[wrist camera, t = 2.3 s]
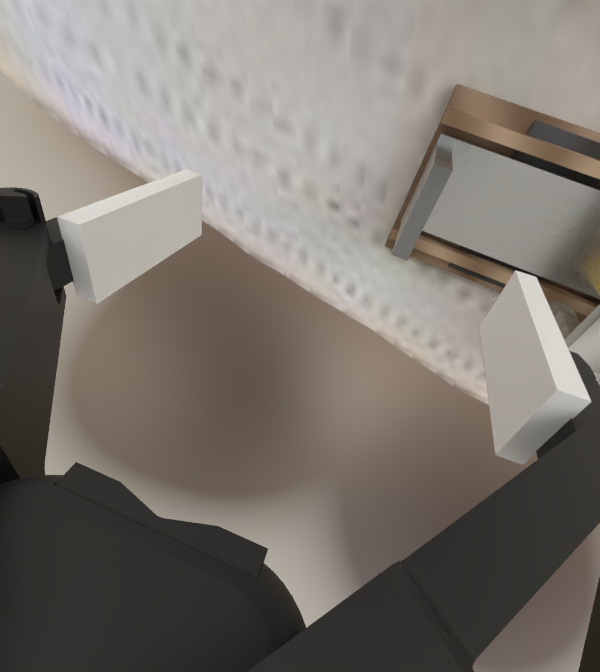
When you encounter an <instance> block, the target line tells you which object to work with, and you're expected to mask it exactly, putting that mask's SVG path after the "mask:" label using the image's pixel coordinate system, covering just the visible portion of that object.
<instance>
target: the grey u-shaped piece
mask: <svg viewBox="0 0 600 672" xmlns="http://www.w3.org/2000/svg"><path fill="white" fill-rule="evenodd" d="M422 231H424V232H427V233H430V234H432V235H435V236H437V237H440V238H443V239H445V240H448V241H450V242H453V243H456V244H458V245H461V246H463V247H466V248H468V249H471V250H474V251H476V252H479V253H481V254H484V255H487V256H489V257H492V258H494V259H497V260H500V261H502V262H505V263H507V264H510V265H513V266H515V267H518V268H520V269H523V270H526V271H528V272H531V273H533V274H536V275H538V276H541V277H544V278H546V279H549V280H551V281H554V282H557V283H559V284H562V285H564V286H567V287H570V288H572V289H575V290H577V291H580V292H583V293H585V294H588V295H590V296H593V297H596V298H598V299H600V189H598V188H595V187H592V186H589V185H587V184H584V183H581V182H578V181H575V180H573V179H570V178H567V177H564V176H561V175H559V174H556V173H553V172H550V171H547V170H545V169H542V168H539V167H536V166H533V165H531V164H528V163H525V162H522V161H519V160H517V159H514V158H511V157H508V156H505V155H503V154H500V153H497V152H494V151H492V150H489V149H486V148H483V147H480V146H478V145H475V144H472V143H469V142H466V141H464V140H461V139H458V138H455V137H452V136H450V135H447V134H444V133H441V135H440V137H439V139H438V141H437V143H436V146H435V148H434V150H433V152H432V154H431V156H430V159H429V161H428V163H427V165H426V167H425V169H424V172H423V174H422V176H421V178H420V180H419V183H418V185H417V187H416V189H415V191H414V193H413V196H412V198H411V200H410V202H409V204H408V207H407V209H406V211H405V213H404V215H403V217H402V220H401V226H400V229H399V232H398V235H397V239H396V242H395V245H394V248H393V251H392V255H395V256H397V257H400V258H402V259H405V260H408V258H409V256H410V254H411V252H412V250H413V248H414V246H415V244H416V242H417V240H418V238H419V236H420V234H421V232H422Z"/></svg>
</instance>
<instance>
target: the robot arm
mask: <svg viewBox="0 0 600 672" xmlns="http://www.w3.org/2000/svg"><path fill="white" fill-rule="evenodd" d="M201 228H202V174H200V173H196V172H193V171H190V170H187V169H186V170H183V171H180V172H177V173H175V174H172V175H169V176H167V177H164V178H161V179H158V180H156V181H153V182H150V183H148V184H145V185H142V186H139V187H137V188H134V189H131V190H129V191H126V192H123V193H120V194H118V195H115V196H112V197H109V198H107V199H104V200H101V201H98V202H96V203H93V204H91V205H88V206H85V207H82V208H80V209H77V210H74V211H71V212H68V213H66V214H63V215H60V216H58V217H56V218H53V219H51V220H48V221H45V217H44V213H43V210H42V206H41V203H40V199H39V195H38V193H36V192H34V191H32V190H28V189H23V188H0V672H474V671H473V667H472V665H473V663H474V662H475V660H476V659H477V657H478V656H479V655H480V654H481V653H482V652H483V651H484V650H485V648H486V647H487V646H488V645H489V644H490V643H491V642H492V641H493V640H494V639H495V637H496V636H497V635H498V634H499V633H500V632H501V631H502V630H503V629H504V627H505V626H506V625H507V624H508V623H509V622H510V621H511V620H512V619H513V618H514V616H515V615H516V614H517V613H518V612H519V611H520V610H521V609H522V608H523V606H524V605H525V604H526V603H527V602H528V601H529V600H530V599H531V598H532V597H533V595H534V594H535V593H536V592H537V591H538V590H539V589H540V588H541V587H542V586H543V584H544V583H545V582H546V581H547V580H548V579H549V578H550V577H551V576H552V575H553V573H554V572H555V571H556V570H557V569H558V568H559V567H560V566H561V564H563V562H564V561H565V560H566V559H567V558H568V557H569V556H570V555H571V554H572V553H573V551H574V550H575V549H576V548H577V547H578V546H579V545H580V544H581V543H582V541H583V540H584V539H585V538H586V537H587V536H588V535H589V534H590V533H591V532H592V531H593V529H594V528H595V527H596V526H597V525H598V524H599V523H600V386H599V384H598V382H597V381H596V380H595V379H596V377H595V375H594V373H593V371H592V369H591V367H590V366H589V365H588V364H587V363H586V362H585V361H584V359H583V358H582V357H581V356H580V355H579V354H578V353H575V352H572V351H569V350H568V347H567V345H566V343H565V341H564V338H563V336H562V334H561V331H560V329H559V327H558V325H557V322H556V320H555V318H554V316H553V313H552V311H551V309H550V307H549V304H548V302H547V300H546V298H545V295H544V293H543V291H542V289H541V286H540V284H539V282H538V280H537V277H535V276H532V275H529V274H526V273H522V272H519V271H516V270H515V272H514V273H513V275H512V277H511V278H510V280H509V281H508V283H507V284H506V286H505V287H504V289H503V291H502V292H501V294H500V295H499V297H498V298H497V300H496V302H495V303H494V305H493V306H492V308H491V309H490V311H489V312H488V314H487V316H486V317H485V319H484V320H483V322H482V323H481V325H480V327H479V330H480V338H481V346H482V354H483V361H484V369H485V377H486V385H487V392H488V400H489V408H490V416H491V423H492V430H493V438H494V447H495V454H496V455H498V456H500V457H503V458H505V459H508V460H511V461H513V462H516V463H519V464H521V465H524V464H525V463H526V462H527V461H528V460H529V459H530V458H531V457H532V456H533V455H535V454H536V453H537V457H538V460H537V461H535V462H534V463H533V464H531V465H530V466H529V467H527V468H526V469H525V470H523V471H522V472H521V473H519V474H518V475H517V476H515V477H514V478H513V479H512V480H510V481H509V482H508V483H506V484H505V485H503V486H502V487H501V488H499V489H498V490H497V491H495V492H494V493H493V494H491V495H490V496H489V497H487V498H486V499H485V500H483V501H482V502H481V503H479V504H478V505H477V506H475V507H474V508H473V509H471V510H470V511H469V512H467V513H466V514H465V515H463V516H462V517H461V518H459V519H458V520H456V521H455V522H454V523H452V524H451V525H450V526H449V527H447V528H446V529H445V530H443V531H442V532H440V533H439V534H438V535H436V536H435V537H434V538H432V539H431V540H430V541H429V542H427V543H426V544H424V545H423V546H422V547H420V548H419V549H418V550H416V551H415V552H414V553H413V554H411V555H410V556H408V557H407V558H405V559H404V560H402V561H398V562H396V563H395V564H393V565H391V566H390V567H389V568H387V569H386V570H384V571H383V572H382V573H380V574H379V575H378V576H376V577H375V578H373V579H372V580H371V581H369V582H368V583H367V584H365V585H364V586H363V587H361V588H360V589H359V590H357V591H356V592H354V593H353V594H352V595H350V596H349V597H348V598H346V599H345V600H344V601H342V602H341V603H340V604H338V605H337V606H336V607H334V608H333V609H332V610H330V611H329V612H327V613H326V614H325V615H323V616H322V617H321V618H319V619H318V620H317V621H316V622H314V623H313V624H311V625H310V626H309V627H307V628H306V626H305V623H304V621H303V618H302V615H301V613H300V611H299V608H298V607H297V605H296V603H295V601H294V599H293V597H292V595H291V594H290V592H289V591H288V589H287V588H286V586H285V585H284V583H283V582H282V581H281V580H280V579H279V578H278V576H277V575H276V574H275V573H274V572H273V571H272V570H271V569H270V568H269V567H267V566H266V565H265V564H264V559H265V556H266V553H267V550H268V549H267V548H265V547H263V546H261V545H258V544H256V543H254V542H252V541H250V540H247V539H245V538H243V537H241V536H239V535H236V534H234V533H232V532H230V531H228V530H225V529H223V528H221V527H219V526H213V525H206V524H199V523H192V522H185V521H177V520H171V519H164V518H161V517H159V516H156V514H154V513H153V512H152V511H151V510H150V509H149V508H148V507H147V506H146V505H145V504H144V503H143V502H141V501H140V500H139V499H138V498H137V497H136V496H135V495H134V494H133V493H132V492H130V491H129V490H128V489H127V488H126V487H125V486H124V485H123V484H122V483H121V482H119V481H117V480H114V479H112V478H110V477H108V476H106V475H104V474H101V473H99V472H97V471H94V470H92V469H90V468H88V467H86V466H84V465H81V464H79V463H77V462H76V463H75V464H74V465H73V466H72V467H71V468H70V469H69V470H68V471H67V472H66V473H65V475H45V468H44V466H45V455H46V447H47V440H48V432H49V425H50V416H51V409H52V401H53V394H54V385H55V378H56V371H57V363H58V355H59V348H60V339H61V332H62V324H63V316H64V309H65V301H66V294H65V290H64V286H65V285H67V284H68V283H70V282H72V281H73V283H74V287H75V291H76V295H77V297H80V298H82V299H85V300H87V301H90V302H93V303H95V304H97V303H99V302H100V301H102V300H103V299H105V298H106V297H108V296H109V295H111V294H112V293H114V292H115V291H117V290H118V289H120V288H122V287H123V286H124V285H126V284H128V283H129V282H131V281H132V280H134V279H135V278H137V277H138V276H140V275H141V274H143V273H144V272H146V271H147V270H149V269H150V268H152V267H153V266H155V265H157V264H158V263H159V262H161V261H162V260H164V259H166V258H167V257H169V256H170V255H172V254H173V253H174V252H176V251H178V250H179V249H180V248H182V247H184V246H185V245H187V244H188V243H190V242H191V241H193V240H194V239H196V238H198V237H199V236H200V235H201V230H202V229H201ZM578 672H600V578H599V583H598V587H597V591H596V596H595V600H594V605H593V610H592V614H591V618H590V623H589V627H588V631H587V636H586V640H585V645H584V649H583V654H582V658H581V663H580V667H579V671H578Z"/></svg>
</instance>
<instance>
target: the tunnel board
mask: <svg viewBox="0 0 600 672" xmlns="http://www.w3.org/2000/svg"><path fill="white" fill-rule="evenodd" d="M441 133H444V134H447V135H450V136H452V137H455V138H458V139H461V140H464V141H466V142H469V143H472V144H475V145H478V146H480V147H483V148H486V149H489V150H492V151H494V152H497V153H500V154H503V155H505V156H508V157H511V158H514V159H517V160H519V161H522V162H525V163H528V164H531V165H533V166H536V167H539V168H542V169H545V170H547V171H550V172H553V173H556V174H559V175H561V176H564V177H567V178H570V179H573V180H575V181H578V182H581V183H584V184H587V185H589V186H592V187H595V188H598V189H600V133H597V132H594V131H592V130H589V129H586V128H583V127H580V126H577V125H574V124H571V123H568V122H565V121H562V120H560V119H557V118H554V117H551V116H548V115H545V114H542V113H539V112H536V111H533V110H530V109H528V108H525V107H522V106H519V105H516V104H513V103H510V102H507V101H504V100H501V99H498V98H496V97H493V96H490V95H487V94H484V93H481V92H478V91H475V90H472V89H469V88H466V87H464V86H461V85H458V84H457V86H456V88H455V90H454V92H453V94H452V97H451V99H450V101H449V103H448V106H447V108H446V110H445V112H444V115H443V117H442V119H441V121H440V123H439V126H438V128H437V130H436V132H435V135H434V137H433V139H432V141H431V143H430V146H429V148H428V150H427V152H426V155H425V157H424V159H423V161H422V164H421V166H420V168H419V170H418V172H417V175H416V177H415V179H414V181H413V184H412V186H411V188H410V190H409V192H408V195H407V197H406V199H405V201H404V204H403V206H402V208H401V210H400V213H399V215H398V217H397V219H396V221H395V224H394V226H393V228H392V230H391V233H390V235H389V237H388V239H387V241H386V244H385V246H386V247H389V248H391V249H393V248H394V245H395V242H396V239H397V235H398V232H399V229H400V226H401V220H402V217H403V215H404V213H405V211H406V209H407V207H408V204H409V202H410V200H411V198H412V196H413V193H414V191H415V189H416V187H417V185H418V183H419V180H420V178H421V176H422V174H423V172H424V169H425V167H426V165H427V163H428V161H429V159H430V156H431V154H432V152H433V150H434V148H435V146H436V143H437V141H438V139H439V137H440V135H441ZM410 256H412V257H414V258H417V259H419V260H422V261H424V262H427V263H429V264H432V265H434V266H437V267H440V268H442V269H445V270H447V271H450V272H452V273H455V274H457V275H460V276H462V277H465V278H467V279H470V280H473V281H475V282H478V283H480V284H483V285H485V286H488V287H490V288H493V289H495V290H498V291H500V292H502V291H503V289H504V287H505V286H506V284H507V283H508V281H509V280H510V278H511V277H512V275H513V273H514V272H515V270H516V271H519V272H522V273H526V274H529V275H532V276H535V277H537V280H538V282H539V284H540V286H541V289H542V291H543V293H544V295H545V298H546V300H547V302H548V304H549V307H550V309H551V311H552V313H553V316H554V318H555V320H556V322H557V325H558V327H559V329H560V331H561V334H562V336H563V338H564V341H565V343H566V345H567V347H568V350H569V351H572V352H575V353H578V354H579V355H580V356H581V357H582V358H583V359H584V361H585V362H586V363H587V364H588V365H589V366H590V367H591V369H592V370H593V371H596V372H598V373H600V299H598V298H596V297H593V296H590V295H588V294H585V293H583V292H580V291H577V290H575V289H572V288H570V287H567V286H564V285H562V284H559V283H557V282H554V281H551V280H549V279H546V278H544V277H541V276H538V275H536V274H533V273H531V272H528V271H526V270H523V269H520V268H518V267H515V266H513V265H510V264H507V263H505V262H502V261H500V260H497V259H494V258H492V257H489V256H487V255H484V254H481V253H479V252H476V251H474V250H471V249H468V248H466V247H463V246H461V245H458V244H456V243H453V242H450V241H448V240H445V239H443V238H440V237H437V236H435V235H432V234H430V233H427V232H424V231H422V232H421V234H420V236H419V238H418V240H417V242H416V244H415V246H414V248H413V250H412V252H411V254H410Z"/></svg>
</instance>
